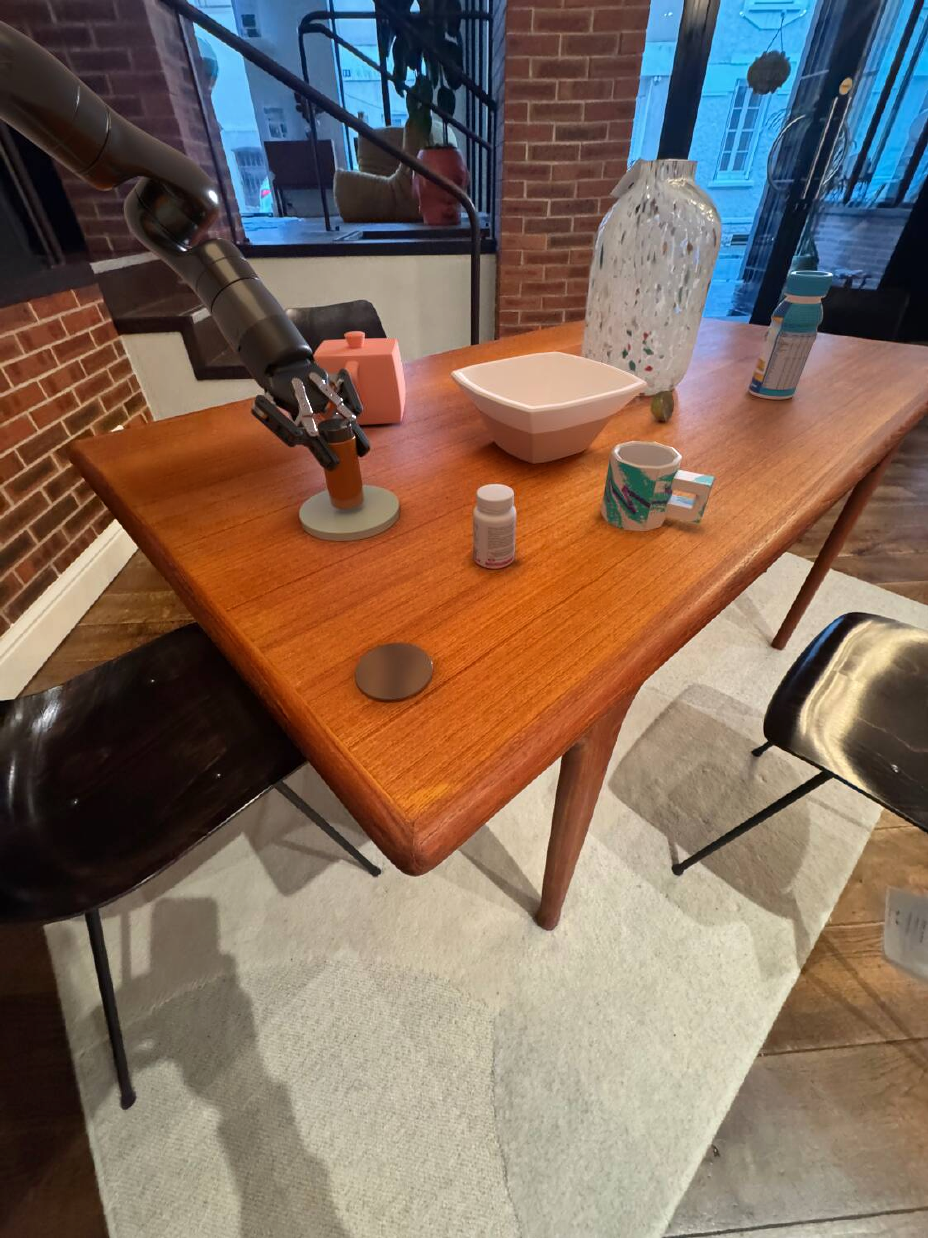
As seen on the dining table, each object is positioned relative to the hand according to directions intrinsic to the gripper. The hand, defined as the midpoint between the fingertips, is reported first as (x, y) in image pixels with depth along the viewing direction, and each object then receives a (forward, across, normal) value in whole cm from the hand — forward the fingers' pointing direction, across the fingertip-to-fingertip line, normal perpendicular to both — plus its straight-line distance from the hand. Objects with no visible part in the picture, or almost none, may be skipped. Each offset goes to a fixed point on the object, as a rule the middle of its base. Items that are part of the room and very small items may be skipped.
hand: (350, 459), depth 63 cm
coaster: (+22, +18, +10) cm, 30 cm away
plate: (+4, 0, -7) cm, 8 cm away
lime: (+18, -57, +7) cm, 60 cm away
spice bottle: (+3, 0, -6) cm, 6 cm away
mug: (+27, -22, +16) cm, 38 cm away
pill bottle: (+20, -3, +8) cm, 21 cm away
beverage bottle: (+27, -82, +16) cm, 88 cm away
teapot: (-15, -26, -27) cm, 40 cm away
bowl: (+10, -35, -1) cm, 36 cm away
